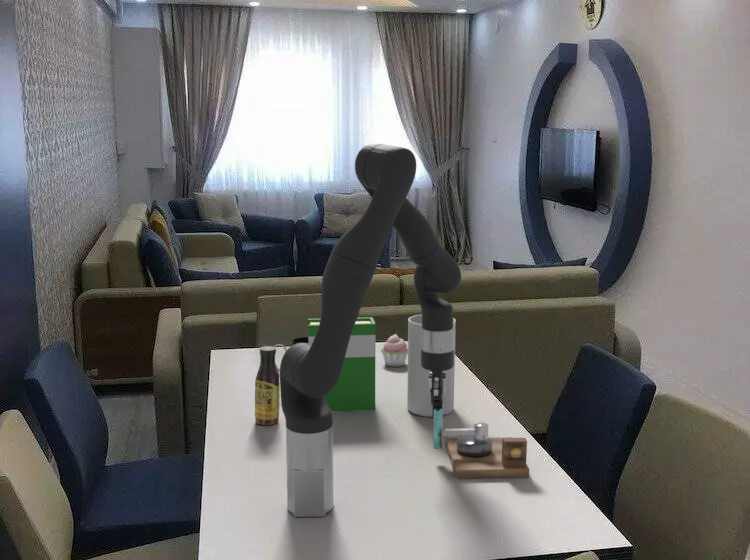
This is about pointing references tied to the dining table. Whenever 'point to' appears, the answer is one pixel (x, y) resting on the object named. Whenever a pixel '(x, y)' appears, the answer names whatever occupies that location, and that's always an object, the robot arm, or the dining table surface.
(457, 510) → the dining table surface
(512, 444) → the stand
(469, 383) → the dining table surface
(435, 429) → the lever
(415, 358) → the cylinder vase
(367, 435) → the dining table surface
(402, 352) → the cupcake
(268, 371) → the sauce bottle
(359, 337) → the hardback book
